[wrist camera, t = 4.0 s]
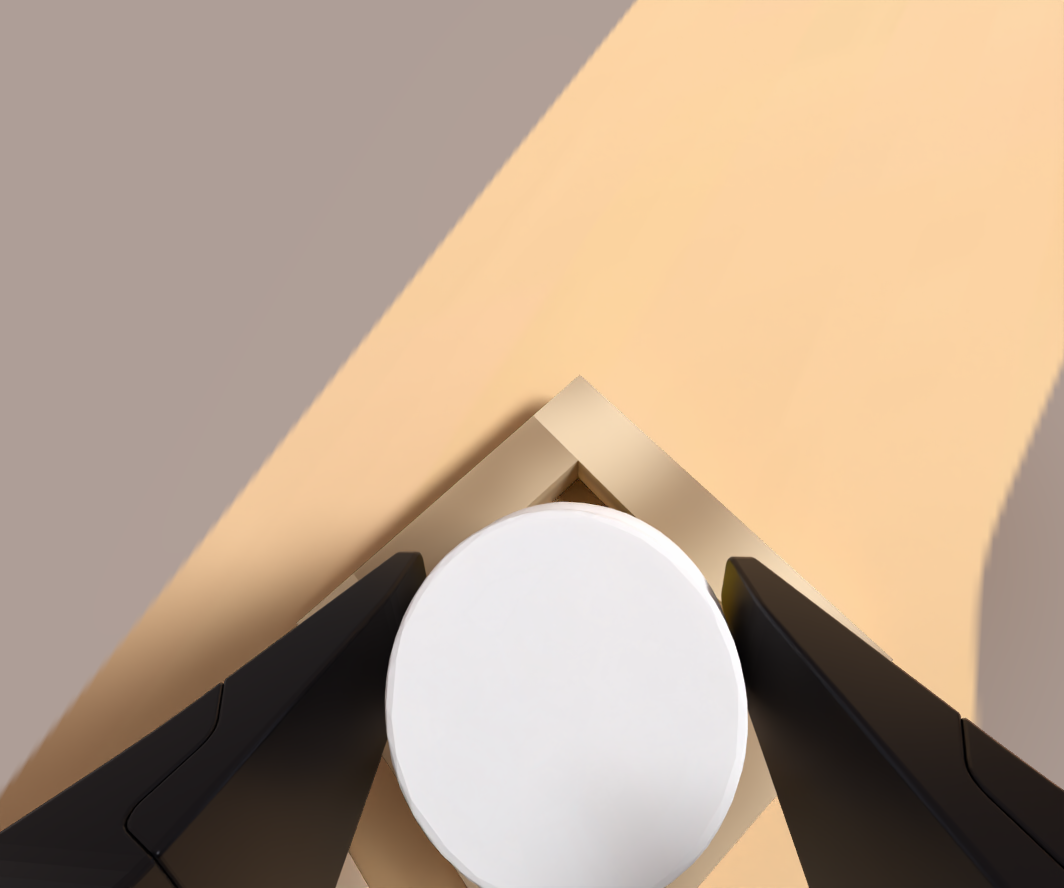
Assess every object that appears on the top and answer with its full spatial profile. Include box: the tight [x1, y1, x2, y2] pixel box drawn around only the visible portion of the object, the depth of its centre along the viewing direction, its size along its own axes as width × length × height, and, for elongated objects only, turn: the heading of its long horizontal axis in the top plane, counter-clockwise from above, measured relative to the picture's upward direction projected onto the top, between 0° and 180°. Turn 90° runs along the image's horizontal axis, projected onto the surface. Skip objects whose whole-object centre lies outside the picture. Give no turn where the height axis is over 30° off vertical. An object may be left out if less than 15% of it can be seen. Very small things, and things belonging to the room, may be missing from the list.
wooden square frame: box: [297, 375, 893, 888], centre depth 13 cm, size 11×11×2 cm
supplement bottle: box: [385, 502, 748, 888], centre depth 10 cm, size 5×5×10 cm
